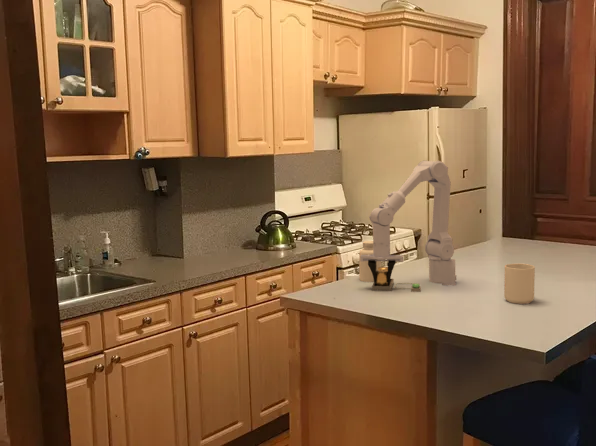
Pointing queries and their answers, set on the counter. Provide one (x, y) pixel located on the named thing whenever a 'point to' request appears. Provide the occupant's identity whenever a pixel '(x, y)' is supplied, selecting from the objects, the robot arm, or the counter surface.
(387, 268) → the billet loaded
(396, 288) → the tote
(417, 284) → the button
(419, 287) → the button housing
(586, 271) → the counter surface
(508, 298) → the mug
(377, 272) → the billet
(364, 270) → the pill bottle
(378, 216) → the robot arm
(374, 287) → the crate
